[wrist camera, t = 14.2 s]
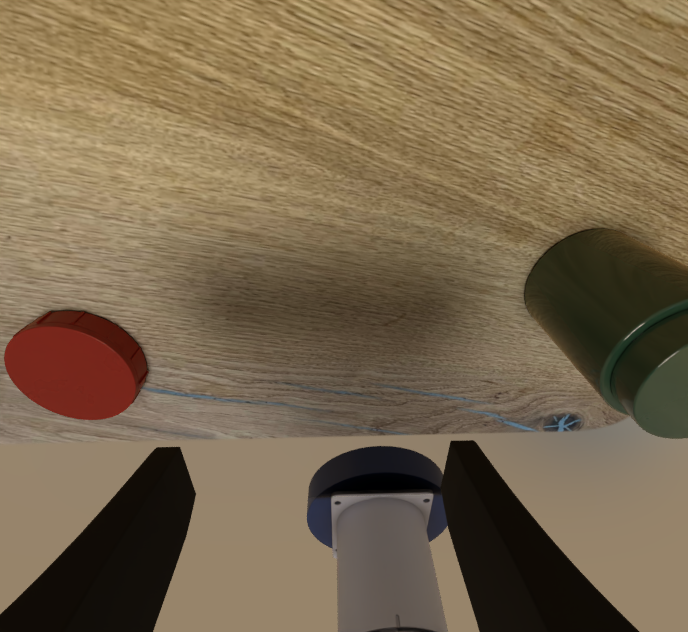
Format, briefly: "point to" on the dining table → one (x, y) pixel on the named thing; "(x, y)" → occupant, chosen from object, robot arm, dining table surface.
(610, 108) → the dining table surface
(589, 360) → the jam jar
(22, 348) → the jar lid
